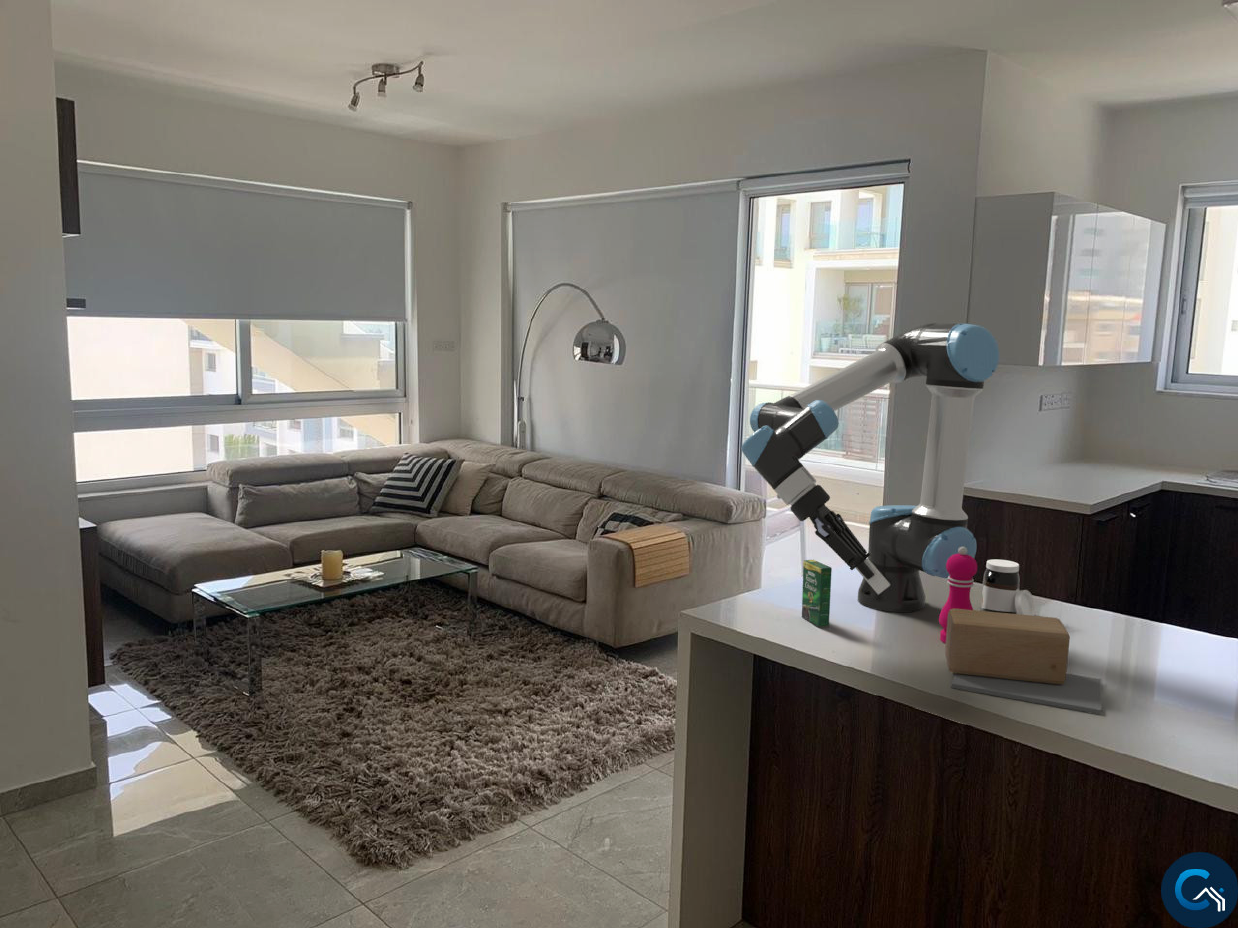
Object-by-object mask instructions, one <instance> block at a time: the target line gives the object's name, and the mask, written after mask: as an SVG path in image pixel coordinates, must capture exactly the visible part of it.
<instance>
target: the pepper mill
mask: <svg viewBox="0 0 1238 928" xmlns="http://www.w3.org/2000/svg"><path fill="white" fill-rule="evenodd" d="M958 552H959V554H954V555H952V556H951V557H949V559H948V560H947V563H946V569H947V571H948V573H949V574H950V576H948V578H947V582H946V583H947V584H948V585H949V591H948V597H947V600H946V602H945V604H944V605H943V606H942V609H941V610H940V613H939V615H938V616H939V617H938V623H939V625H940V626H941V628H942V629H941V630H940V633H939V634H940V635H939V639H940V641H941V642H942V643H944V644H946V633H947V619H948V612H949V610H950V609H954V608H955V609H966V610H974V608H973V606H972V605H973V604H972V603H971V597H970V596H971V589H972V587H973V586H974V581H975V579H974V578H973V577H974V576H975V575H976V574H977V572H978V564H977V563H978V562H977V561H976V559H975V557H974V558H973V557H971V556H970V555H967V548H966V547H960V548H959V549H958Z"/></svg>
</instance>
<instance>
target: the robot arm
mask: <svg viewBox="0 0 1238 928" xmlns="http://www.w3.org/2000/svg"><path fill="white" fill-rule="evenodd" d="M999 361H1000V347H999V345H998V342H997V339H996V338H995V337H994V336H993V334H992V332H991V331H989V330H988V329H987V328H985V327H983V326H981V325H978V324H971V323H965V322H964V323H924V324H921V325H918V326H915V327H913V328H910V329H909V330H906V331H904V332H902V333H900V334H898V335H895V336H893V337H891V338H890V339H888V340H886V341H884V342H882V343H880V344H878V345H877V346H876V348H875V351H874V352H873V353H870V354H868V355H866V356H865V357H863V358H861V359H859V360H857V361H854V362H852V363H851V364H849V365H847V366H845V367H843V368H841V369H839V370H837V371H835V372H833V373H831V374H829V375H827V376H825V377H823V378H821V379H820V380H817V381H816V382H814V383H811V384H810V385H808V386H805V387H803V388H802V389H800V390H798V391H795V392H794V393H792V394H790V395H788V396H786V397H783V398H781V399H779V400H777V401H776V402H762V403H759V404H757V405H756V406H754V408H753V409H752V411H751V412H750V415H749V416H750V417H749V425H750V428H751V430H752V431H753V433H752V434H751V435H750V436H748V438H746V440H744V442H743V443H742V445H741V452H742V454H743V455H744V457H745V458H746V459H747V460H748V461H749V463H750V465H751V466H752V467H753V468H754V469H755V470H756V471H757V473H759V475H760V476H761V477H762V478H763V479H764V480H765V481H766V482H767V484H768V485H769V486H770V487H771V488H772V490H774V492H775V493H776V498H777V499H779V500H780V499H781V500H782V501H783V502H784V504H785V505H786V506H787V505H788V506H789V505H790V507H789V509H790V511H791V513H793V515H794V516H795V517H796V518H797V519H798V520H799V521H800V522H804V521H805V520H807V519H809V520H810V521H811V523H812V524H813V527H814V528H815V531H814V533H815V535H816V536H817V537H818V538H820V539H821V540H822V541H823V542H824V543H825V544H826V545H828V547H829V548H830V549H832V551H833V552H834V553H835V554H836V555H837V556H838V557H839V558H840V559H841V560H842V562H843V561H844V563H845V564H846V565H847V566H848V567H849V570H850V571H854V570H857V572H858V573H859V574H860V575H861V577H862V581H861V583H860V585H859V588H858V591H857V601H858V603H860V604H861V605H863V606H865V607H868V608H870V609H871V608H872V609H876V610H880V611H885V612H895V613H896V612H897V613H907V612H909V613H910V612H917V611H921V610H923V609H924V608H925V607H926V593H925V589H924V587H923V583H922V580H921V576H920V574H921V573H920V572H923V573H925V574H927V575H930V576H931V577H938V578H941V579H948V576H950V574H949V573H948V571H947V569H946V563H947V560H948V559H949V557H951V556H952V555H954V554H959V552H958V549H959V548H960V547H966V548H967V555H970V556H971V557H973V558H974V559H975V556H976V553H977V546H978V545H977V539H976V537H974V534H973V533H972V531H970V530H969V529H968V521H969V516H968V514H967V513H966V512H965V511H964V510H963V508H962V507H963V499H964V489H965V482H966V474H967V466H968V465H967V464H968V457H969V447H970V440H971V431H972V421H973V416H974V415H973V414H974V413H973V412H974V406H975V405H974V404H975V398H976V397H977V396H978V395H979V394H980V393H982V392H983V390H984V385H985V381H986V380H988V379H989V378H991V377H992V376H993V373H994V372H996V371H997V369H998V366H999ZM917 377H918V378H919V377H926V381H925V387H926V388H927V389H928V390H929V392H930V393H931V402H930V403H931V404H930V411H929V420H928V428H927V439H926V444H925V445H926V446H925V447H926V448H925V456H924V463H923V465H924V466H923V475H922V483H921V493H920V499H919V500H920V501H919V504H918V505H905V504H904V505H903V504H901V505H900V504H899V505H897V504H896V505H895V504H894V505H893V504H892V505H890V504H889V505H879V506H876V507H874V508H873V509H872V510H871V512H870V519H869V522H868V525H869V529H868V530H869V531H868V549H867V550H866V549H865V547H864V546H863V545H862V543H861V542H860V541H859V539H858V538H857V537H856V536H855V534H854V533H853V532H852V530H851V529H850V528H849V526H848V525H847V524H846V521H844V519H843V518H842V517H843V516H842V515H841V514H840V513H835V511H833V510H831V509H829V507H828V506H826V505H825V504H826V503H828V502H829V501H830V499H831V496H830V495H829V493H827V491H826V490H825V489H824V487H822V485H821V484H816V483H817V479H816V478H815V477H814V476H813V475H812V474H811V473H810V471H809V470H808V469H807V468H806V467H805V466H804V465H803V463H802V462H801V461H800V459H802V458H804V456H805V455H807V454H808V453H809V452H811V451H812V450H813V449H815V448H816V447H817V446H819V445H820V444H821V443H823V442H824V441H825V440H828V438H829V437H830V436H831V435H832V434H833V433H834V432H835V431H837V429H838V428H839V426H840V425H839V424H840V423H839V418H838V416H837V414H836V412H835V411H837V410H839V409H842V408H843V407H845V406H848V405H849V404H851V403H853V402H854V401H857V400H859V399H860V398H863V397H864V396H866V395H868V394H871V393H872V392H874V391H877V390H878V389H880V388H882V387H885V386H886V385H888V384H890V383H894V384H900V383H902V382H903V381H906V380H907V379H908V380H909V379H911V378H917ZM867 551H868V552H867Z"/></svg>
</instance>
